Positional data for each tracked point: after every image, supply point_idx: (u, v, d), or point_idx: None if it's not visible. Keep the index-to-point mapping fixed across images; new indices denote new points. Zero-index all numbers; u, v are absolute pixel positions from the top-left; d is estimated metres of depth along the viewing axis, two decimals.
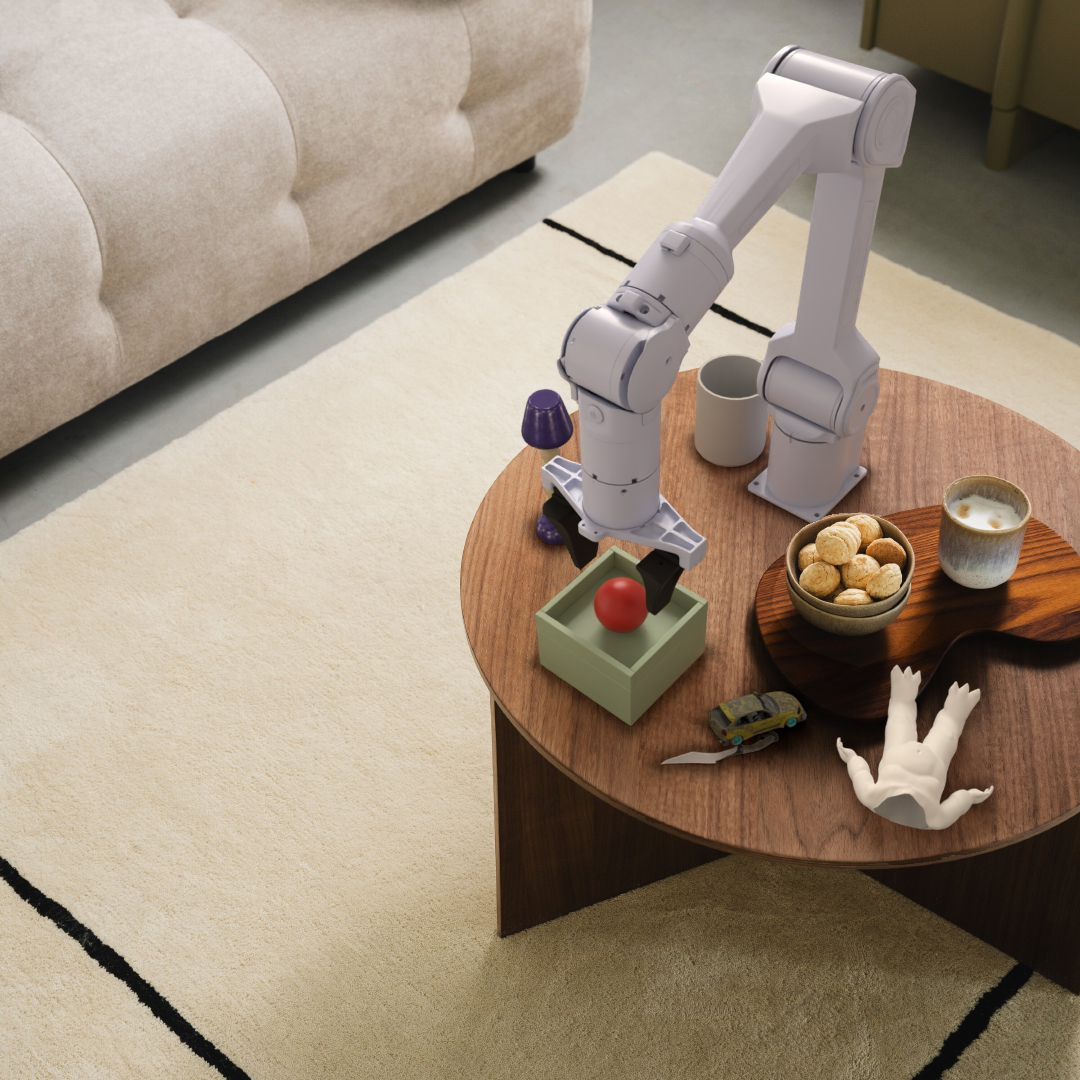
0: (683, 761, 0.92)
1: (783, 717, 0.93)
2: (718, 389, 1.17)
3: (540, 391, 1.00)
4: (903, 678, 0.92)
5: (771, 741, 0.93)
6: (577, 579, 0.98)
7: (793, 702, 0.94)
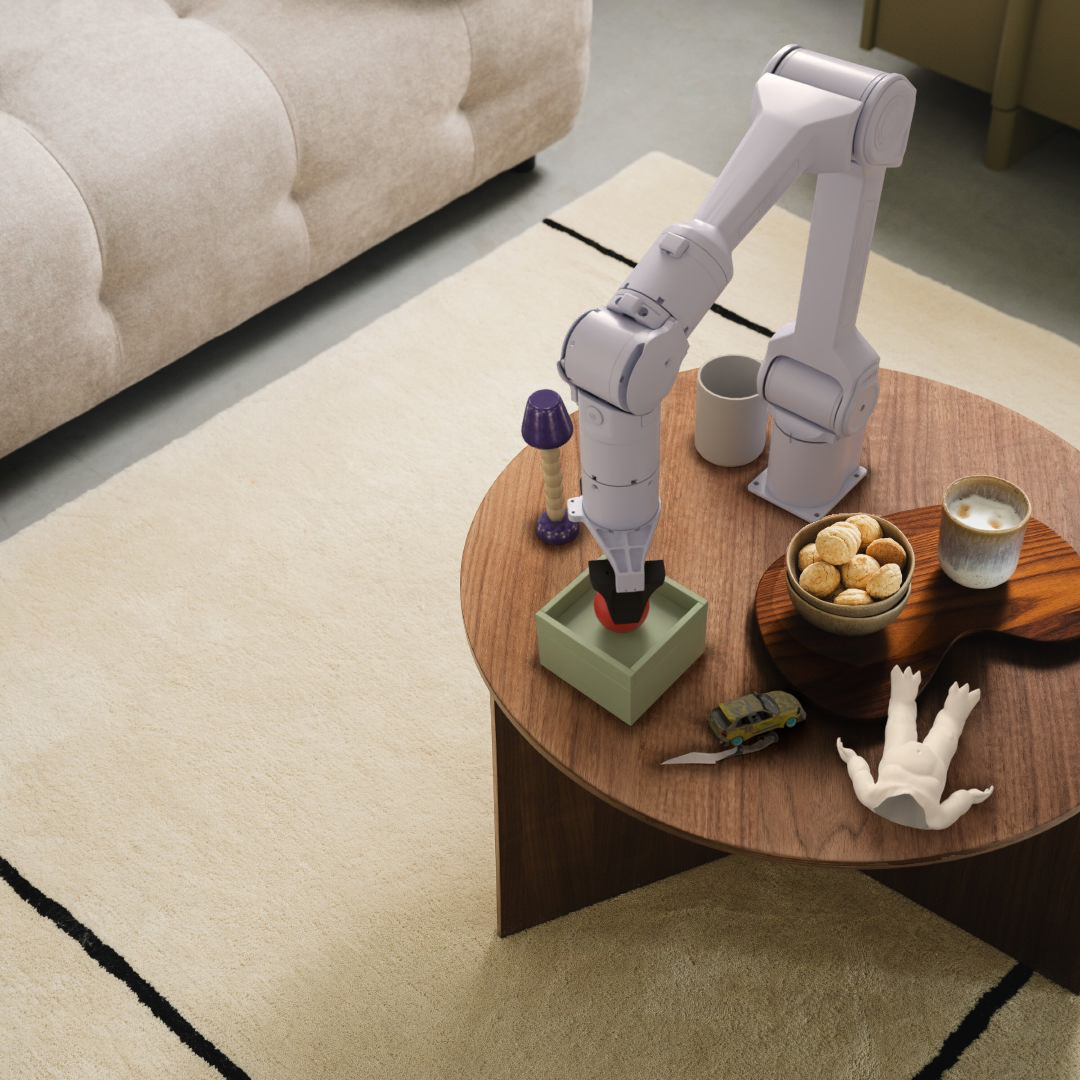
0: (683, 761, 0.92)
1: (783, 717, 0.93)
2: (718, 389, 1.17)
3: (540, 391, 1.00)
4: (903, 678, 0.92)
5: (771, 741, 0.93)
6: (577, 579, 0.98)
7: (793, 702, 0.94)
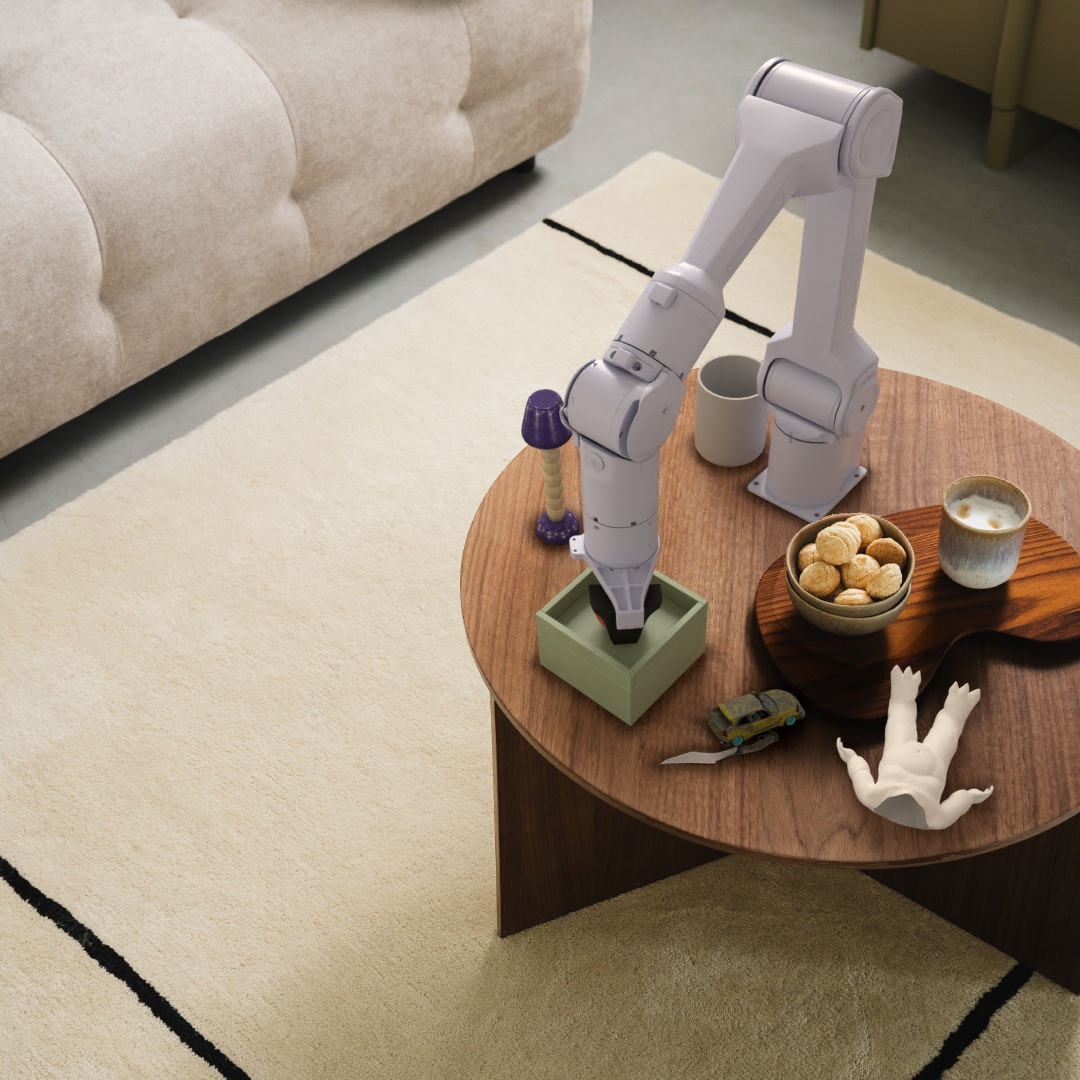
0: (683, 761, 0.92)
1: (782, 716, 0.93)
2: (718, 389, 1.17)
3: (540, 391, 1.00)
4: (903, 678, 0.92)
5: (770, 741, 0.93)
6: (577, 579, 0.98)
7: (791, 700, 0.94)
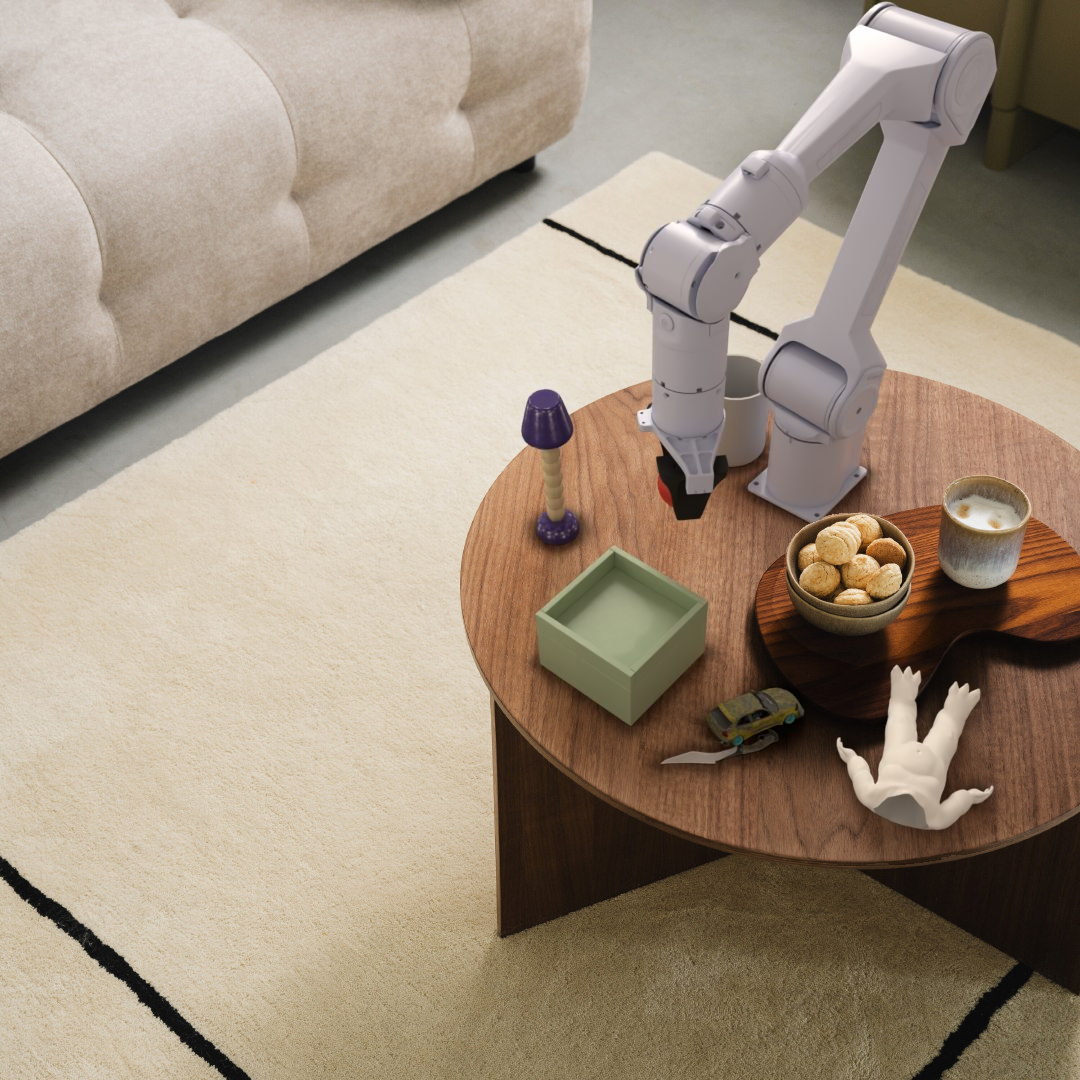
0: (683, 761, 0.92)
1: (782, 714, 0.93)
2: None
3: (540, 391, 1.00)
4: (903, 678, 0.92)
5: (770, 741, 0.93)
6: (577, 579, 0.98)
7: (790, 698, 0.94)
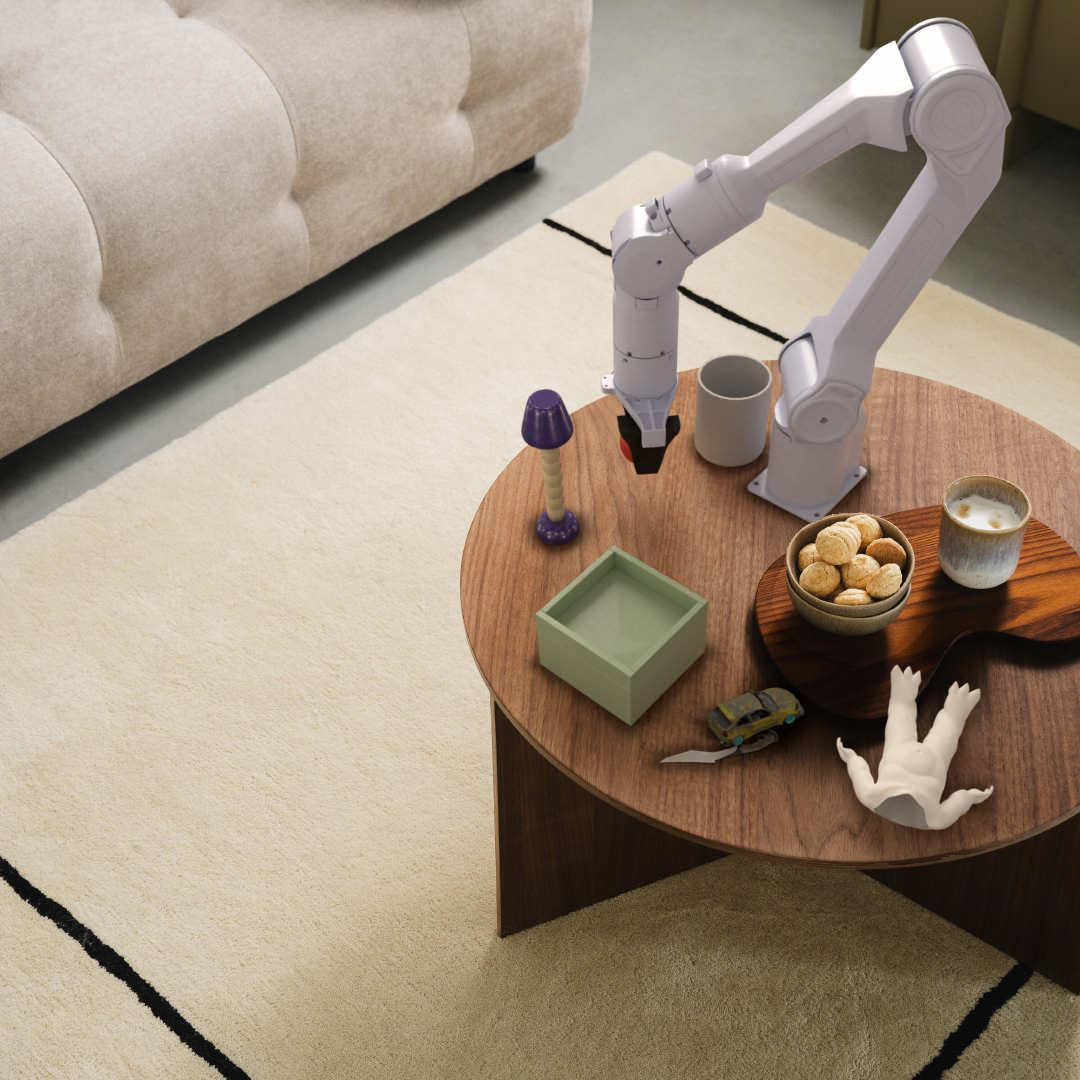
0: (682, 760, 0.92)
1: (782, 714, 0.93)
2: (718, 389, 1.17)
3: (540, 391, 1.00)
4: (903, 678, 0.92)
5: (770, 741, 0.93)
6: (577, 579, 0.98)
7: (790, 698, 0.94)
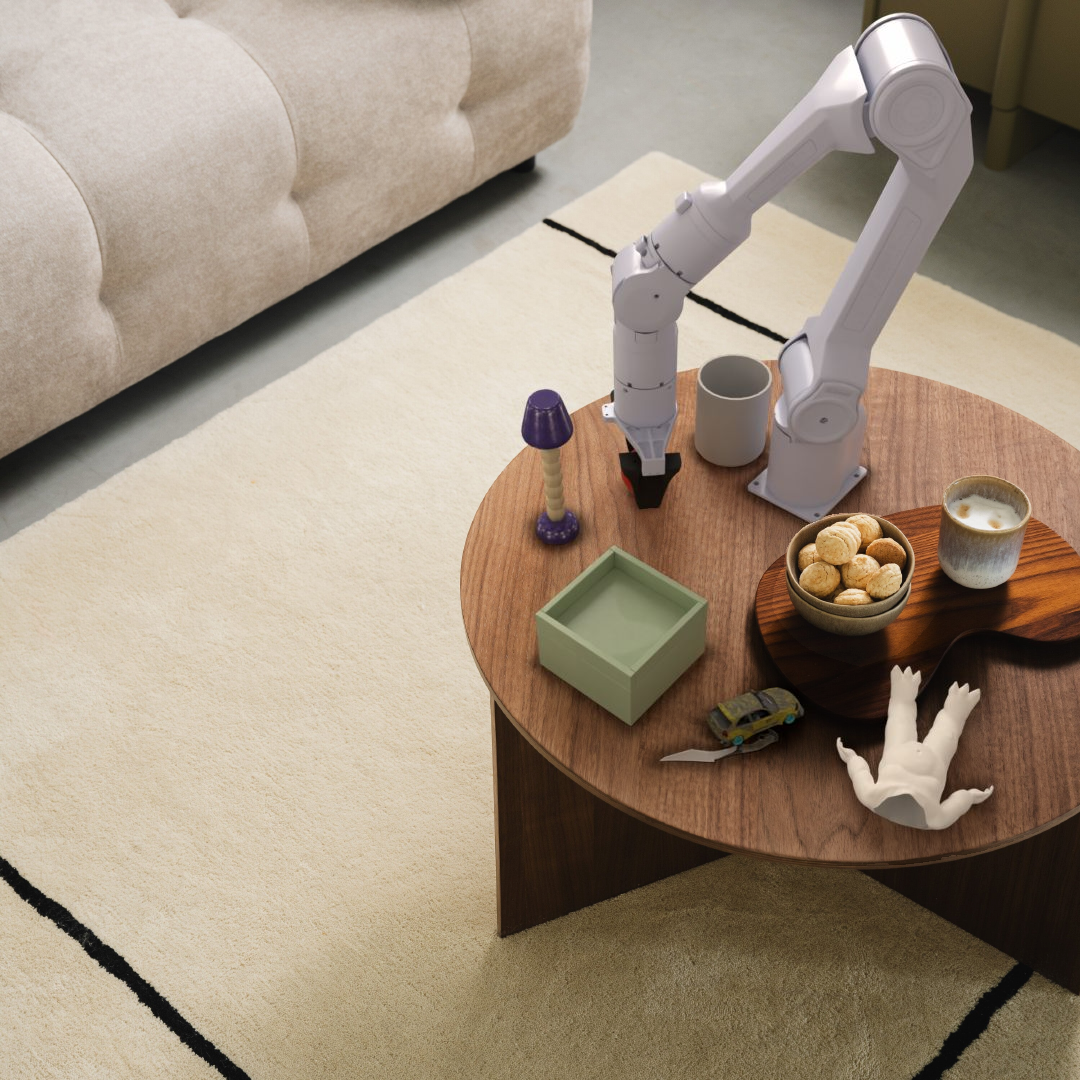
0: (682, 759, 0.93)
1: (782, 714, 0.93)
2: (718, 389, 1.17)
3: (540, 391, 1.00)
4: (903, 678, 0.92)
5: (770, 741, 0.93)
6: (577, 579, 0.98)
7: (790, 698, 0.94)
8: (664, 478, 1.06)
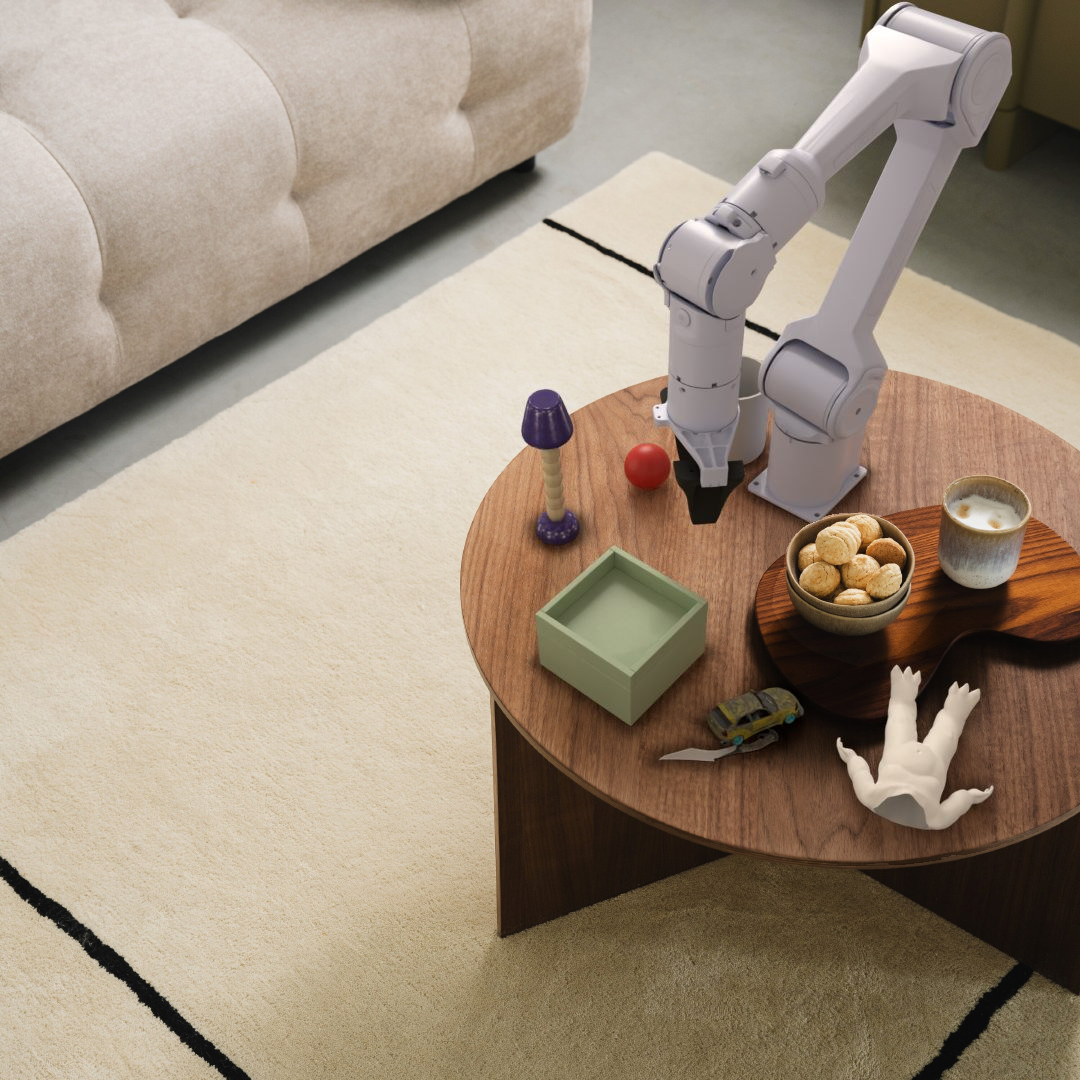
0: (681, 757, 0.93)
1: (782, 714, 0.93)
2: None
3: (540, 391, 1.00)
4: (903, 678, 0.92)
5: (770, 741, 0.93)
6: (577, 579, 0.98)
7: (790, 698, 0.94)
8: (724, 490, 0.93)
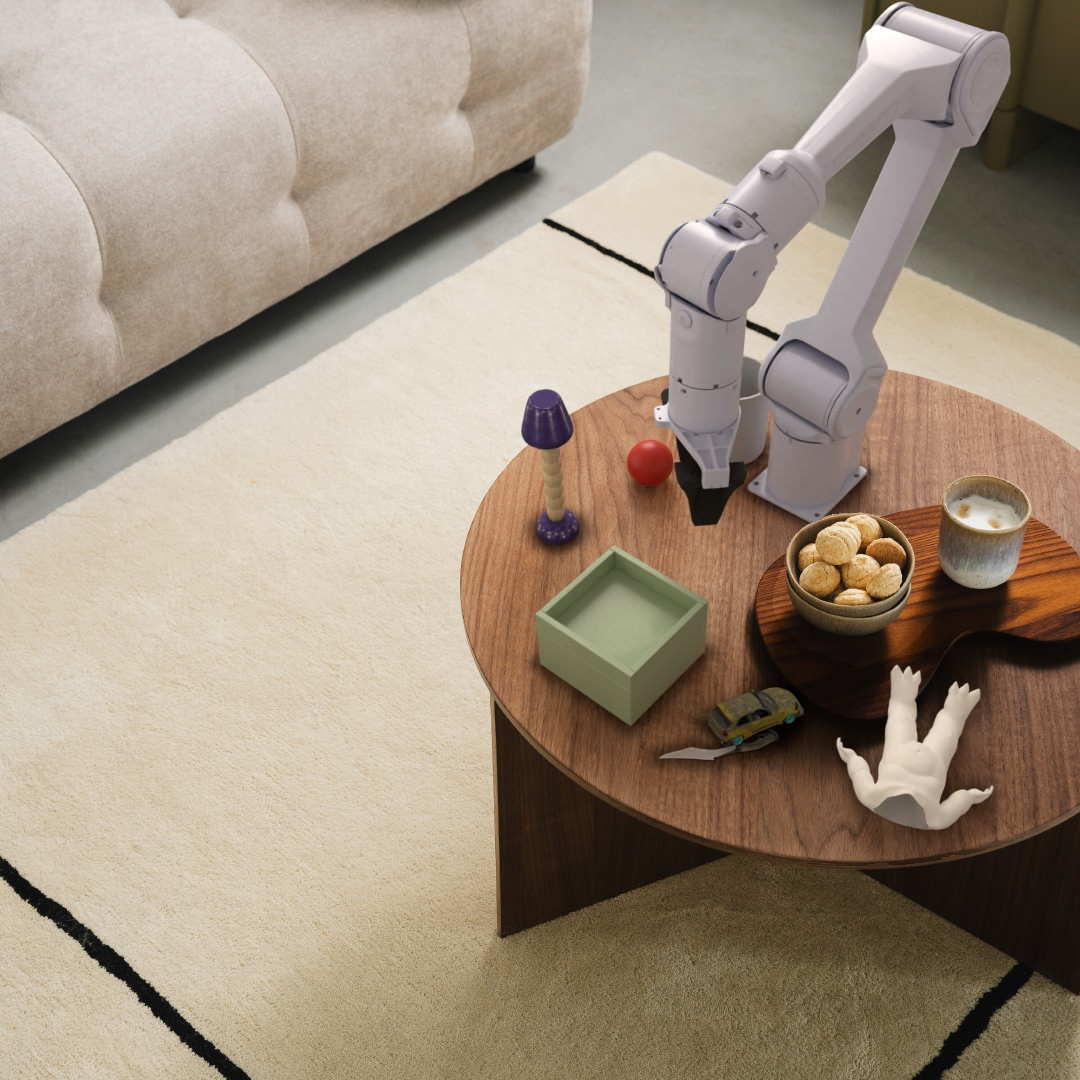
0: (681, 756, 0.93)
1: (782, 714, 0.93)
2: None
3: (540, 391, 1.00)
4: (903, 678, 0.92)
5: (770, 740, 0.93)
6: (577, 579, 0.98)
7: (790, 698, 0.94)
8: (726, 491, 0.93)
